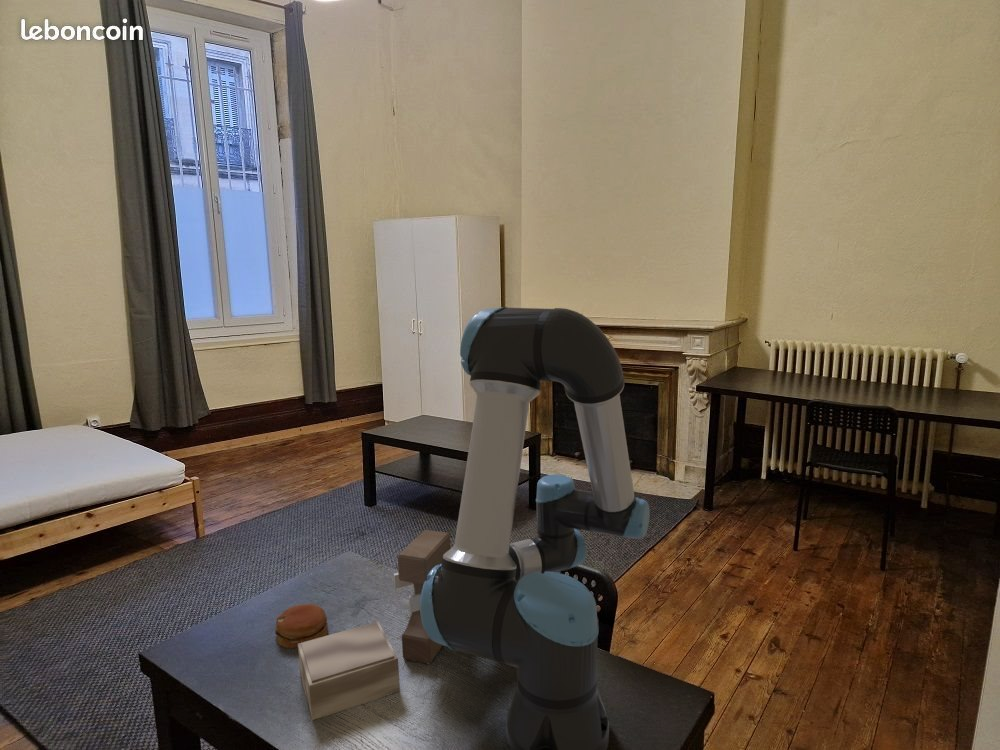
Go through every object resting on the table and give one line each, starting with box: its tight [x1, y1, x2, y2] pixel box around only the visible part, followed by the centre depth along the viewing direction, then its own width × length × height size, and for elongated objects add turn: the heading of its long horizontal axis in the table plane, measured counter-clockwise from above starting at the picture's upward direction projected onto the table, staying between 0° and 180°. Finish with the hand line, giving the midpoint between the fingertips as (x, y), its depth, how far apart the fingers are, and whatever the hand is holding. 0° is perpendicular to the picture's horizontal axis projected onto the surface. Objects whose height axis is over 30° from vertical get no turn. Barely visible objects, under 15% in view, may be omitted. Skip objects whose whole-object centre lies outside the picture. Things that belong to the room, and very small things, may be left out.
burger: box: [274, 603, 329, 649], centre depth 117 cm, size 10×9×5 cm
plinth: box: [297, 621, 401, 721], centre depth 103 cm, size 12×14×6 cm
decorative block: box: [397, 529, 452, 665], centre depth 111 cm, size 11×6×20 cm, turn 161°
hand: (401, 592), depth 111 cm, fingers closed on decorative block, 8 cm apart
